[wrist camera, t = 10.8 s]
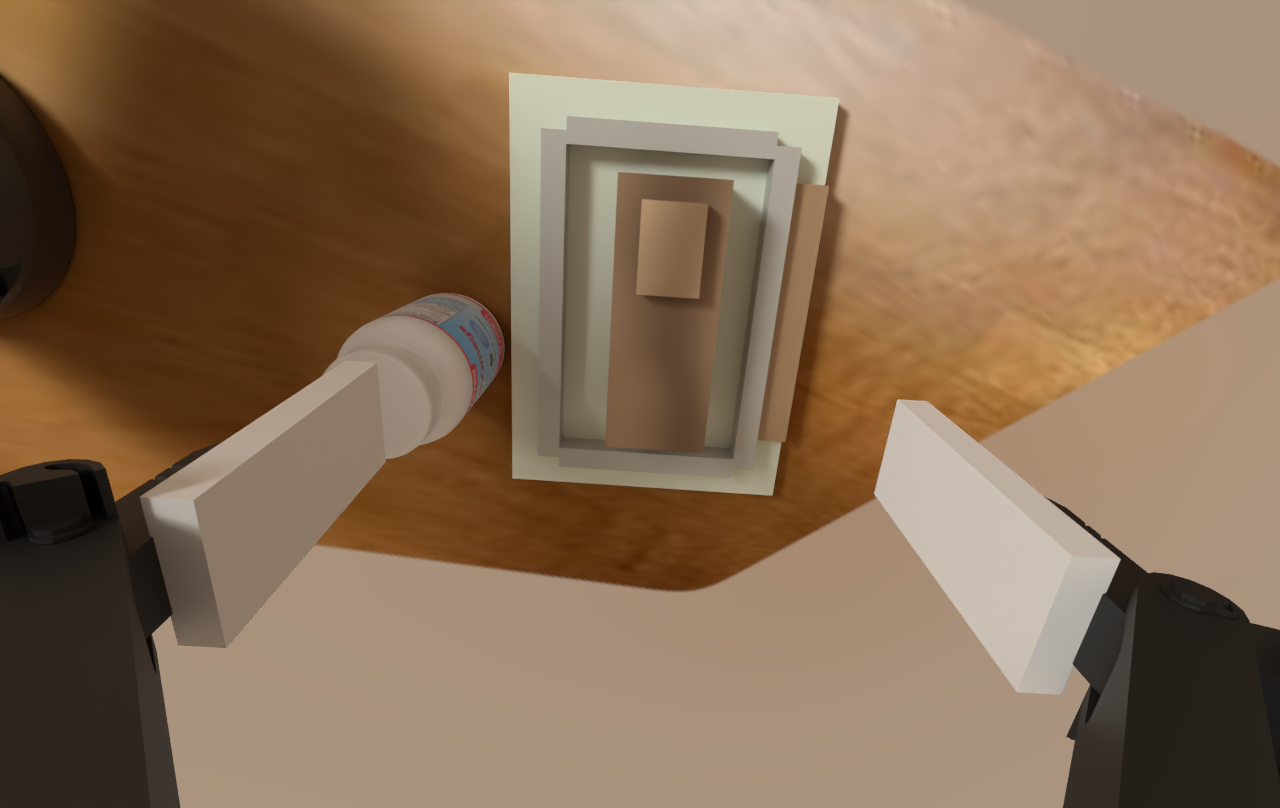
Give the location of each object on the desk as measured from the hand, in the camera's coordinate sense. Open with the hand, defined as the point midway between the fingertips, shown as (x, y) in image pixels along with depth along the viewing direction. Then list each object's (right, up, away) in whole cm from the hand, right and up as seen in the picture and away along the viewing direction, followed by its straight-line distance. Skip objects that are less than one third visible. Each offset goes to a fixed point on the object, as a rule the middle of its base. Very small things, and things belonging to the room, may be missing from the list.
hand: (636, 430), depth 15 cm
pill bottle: (-11, +4, +20) cm, 23 cm away
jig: (+1, +6, +19) cm, 20 cm away
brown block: (+1, +6, +18) cm, 19 cm away
